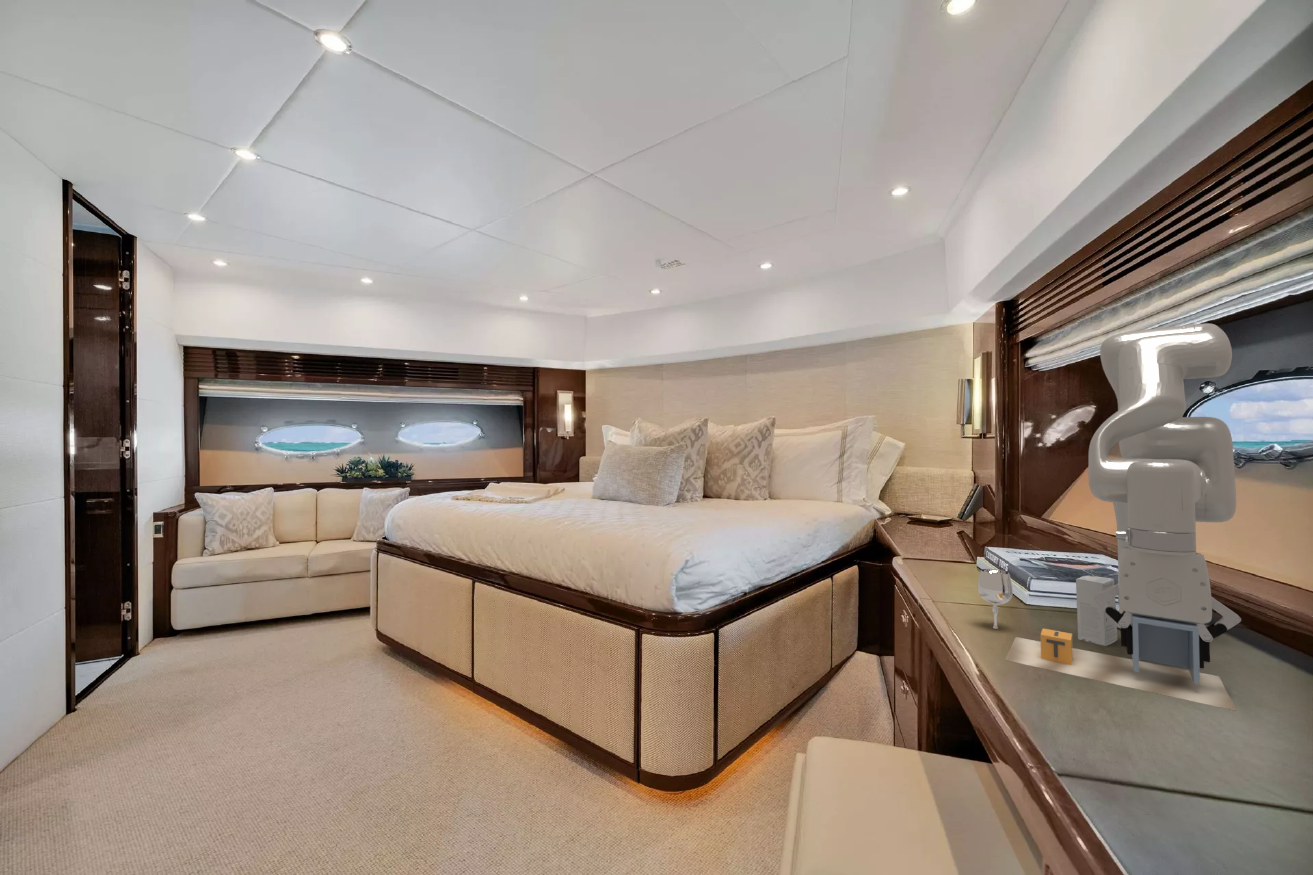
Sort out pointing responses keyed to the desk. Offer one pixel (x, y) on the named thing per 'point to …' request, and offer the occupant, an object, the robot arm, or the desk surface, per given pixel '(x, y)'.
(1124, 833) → the desk surface
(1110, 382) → the robot arm
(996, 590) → the wineglass
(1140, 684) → the board
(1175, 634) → the grey open-front cubby
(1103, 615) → the skincare box
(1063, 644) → the letter cube
